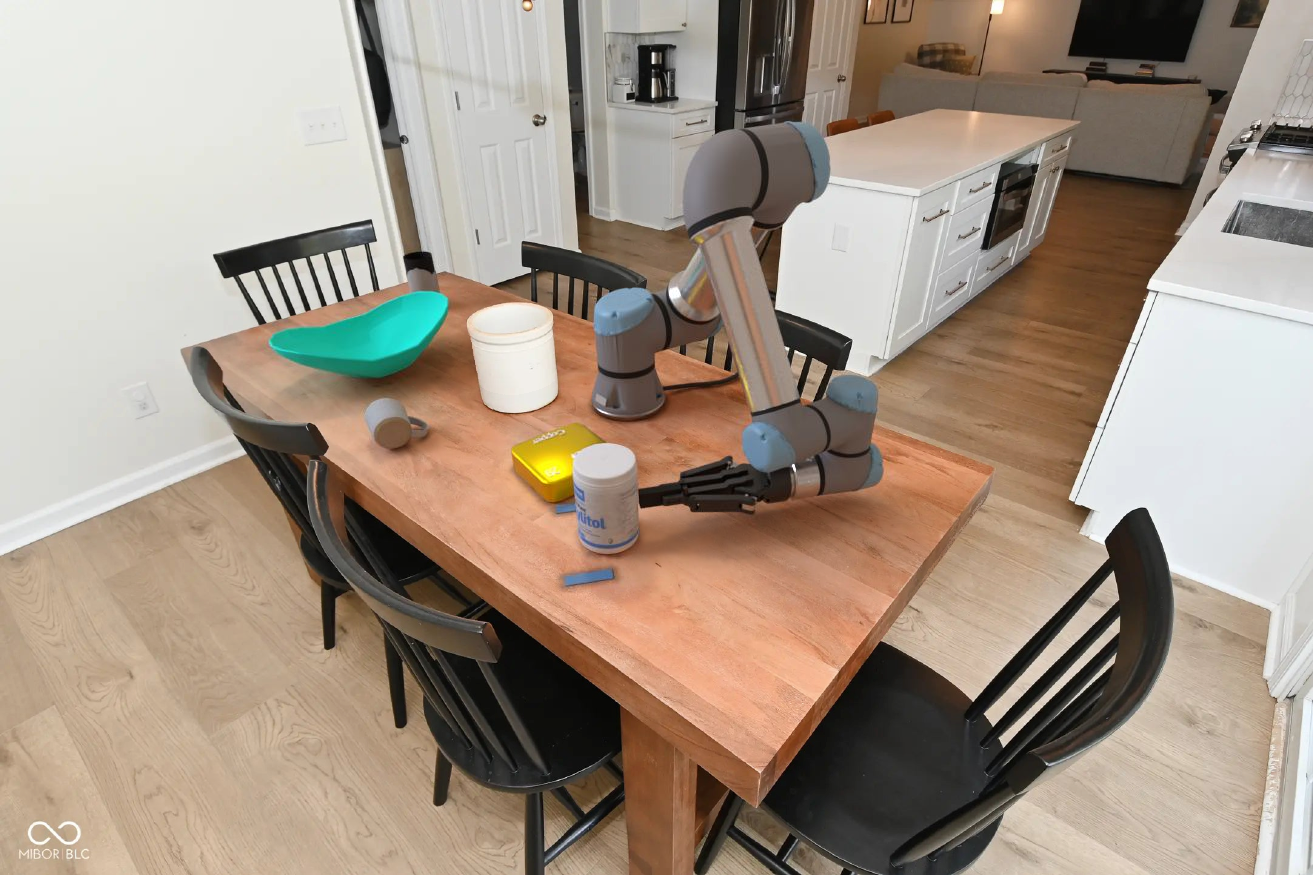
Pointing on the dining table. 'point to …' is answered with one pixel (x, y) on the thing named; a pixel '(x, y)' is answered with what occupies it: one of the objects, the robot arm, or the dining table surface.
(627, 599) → the dining table surface
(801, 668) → the dining table surface
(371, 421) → the ceramic mug
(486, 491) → the dining table surface
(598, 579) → the tape marks
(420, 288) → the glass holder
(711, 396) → the dining table surface
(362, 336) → the table top decor
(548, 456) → the element tile
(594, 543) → the supplement tub
